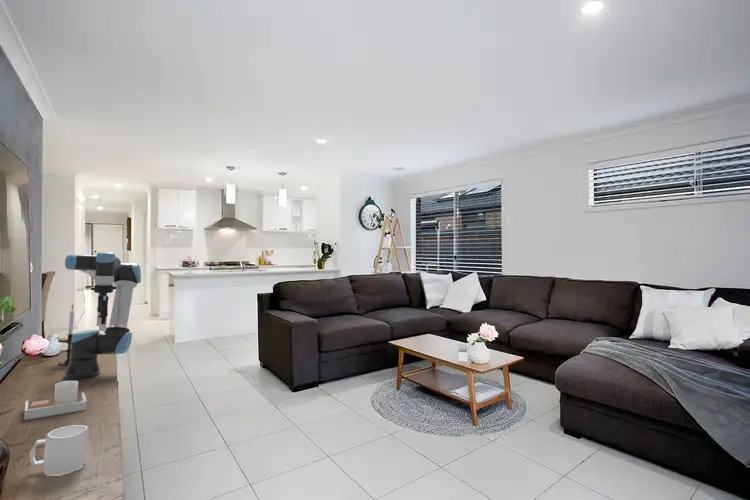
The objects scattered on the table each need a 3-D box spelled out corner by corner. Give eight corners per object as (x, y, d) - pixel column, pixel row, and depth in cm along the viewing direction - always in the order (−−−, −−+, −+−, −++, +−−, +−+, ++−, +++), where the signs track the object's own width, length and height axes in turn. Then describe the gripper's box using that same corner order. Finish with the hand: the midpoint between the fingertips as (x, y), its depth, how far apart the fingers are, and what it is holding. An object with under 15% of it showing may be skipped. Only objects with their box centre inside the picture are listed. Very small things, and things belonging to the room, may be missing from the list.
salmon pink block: (31, 411, 157) (32, 401, 157) (47, 409, 160) (48, 399, 160) (30, 415, 153) (31, 405, 153) (46, 413, 156) (47, 403, 156)
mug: (22, 482, 109) (25, 443, 109) (33, 465, 118) (36, 429, 118) (82, 472, 115) (85, 435, 116) (88, 456, 124) (91, 423, 125)
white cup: (63, 411, 158) (65, 386, 159) (47, 409, 160) (49, 384, 160) (81, 405, 166) (83, 381, 167) (66, 403, 168) (68, 379, 168)
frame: (25, 409, 159) (25, 400, 159) (83, 400, 171) (84, 392, 172) (23, 420, 149) (24, 410, 149) (85, 409, 161) (86, 401, 161)
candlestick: (77, 365, 225) (82, 304, 227) (54, 366, 220) (59, 304, 221) (80, 360, 235) (85, 302, 236) (58, 362, 229) (63, 302, 231)
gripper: (92, 282, 195) (89, 324, 194) (96, 286, 175) (93, 333, 175) (110, 282, 199) (107, 323, 199) (116, 286, 180) (113, 332, 180)
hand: (101, 328), depth 187 cm, fingers open, 13 cm apart
